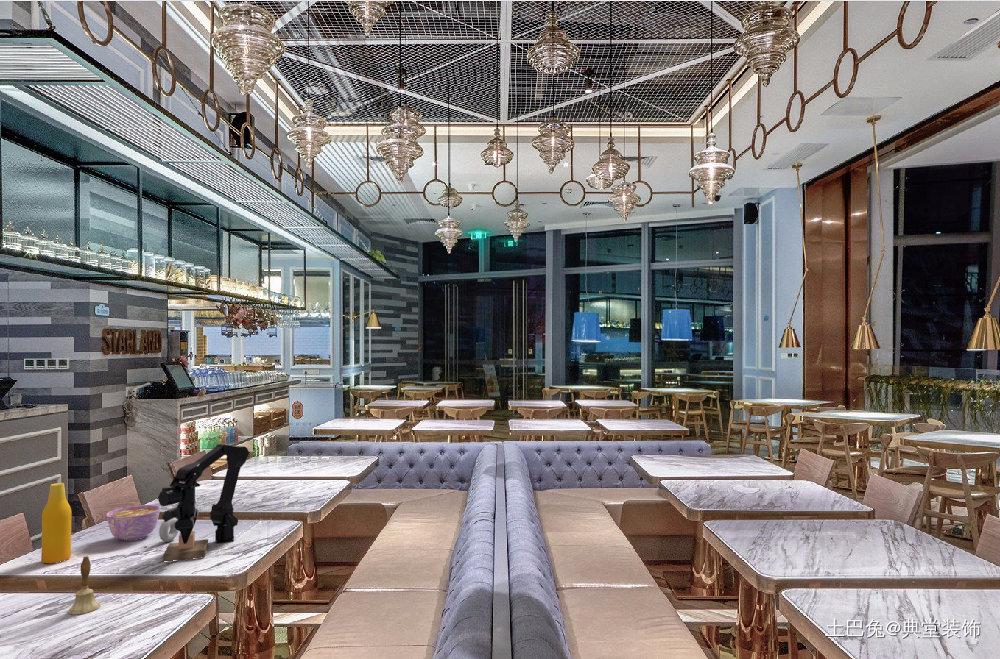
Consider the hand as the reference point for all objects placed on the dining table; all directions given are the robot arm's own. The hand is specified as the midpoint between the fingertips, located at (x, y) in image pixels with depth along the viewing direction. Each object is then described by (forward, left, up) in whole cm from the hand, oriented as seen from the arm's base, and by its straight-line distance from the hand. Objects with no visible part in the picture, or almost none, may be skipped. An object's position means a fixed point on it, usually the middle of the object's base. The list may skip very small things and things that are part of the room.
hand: (186, 540), depth 234 cm
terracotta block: (0, 0, -2) cm, 2 cm away
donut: (+9, -21, -6) cm, 24 cm away
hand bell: (+23, +44, -6) cm, 50 cm away
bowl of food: (+24, -32, -6) cm, 40 cm away
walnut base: (0, 0, -6) cm, 6 cm away
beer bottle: (+46, -12, -6) cm, 48 cm away
